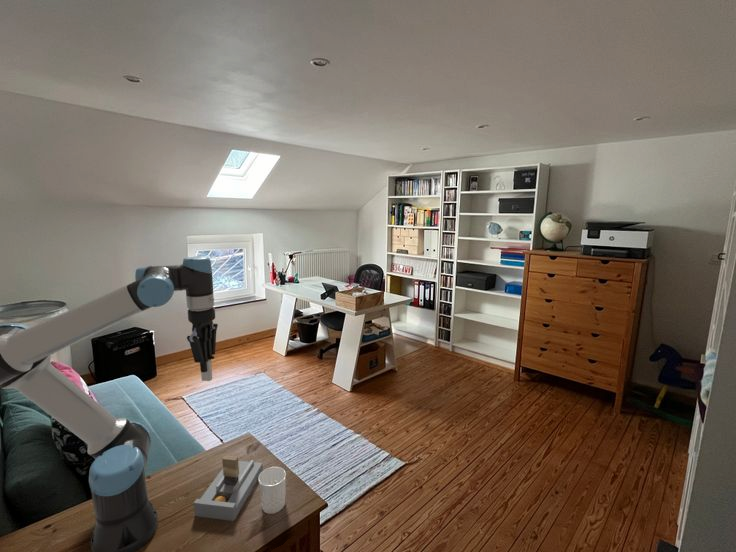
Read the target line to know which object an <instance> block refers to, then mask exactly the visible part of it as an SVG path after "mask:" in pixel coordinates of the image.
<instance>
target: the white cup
mask: <svg viewBox="0 0 736 552" xmlns="http://www.w3.org/2000/svg"><path fill="white" fill-rule="evenodd" d="M286 480H287V473H286V470H285V469H284V468H282V467H280V466H270V467H267V468H265V469H263V471H262V472H261V473H260V475H259V477H258V480H257V482H258V488H259V489H258V490H259V496H260V497H259V498H260V503H261V509H262V511H263V512H264V513H266V514H267V515H268V514H269V515H270V514H271V515H272V514H276V513H279V512H280V511H281V510H282V509H284V508H285V507H284V506H285V505H286V494H287V493H286V489H287V485H286V484H287V481H286Z"/></svg>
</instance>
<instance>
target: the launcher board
mask: <svg viewBox="0 0 736 552" xmlns="http://www.w3.org/2000/svg"><path fill="white" fill-rule="evenodd" d="M238 462H239V475H238V479H239V480H238V482H237V483H236V485H232V484H225V483H224V476H223V468H222V469H221V470H220V471H219V472H218V474H217V475H216V477H215V478H214V479H213V481H212V482H211V483H210V485H209V487H207V489H206V490H205V492H204V493H203V494H202V496H201V497H200V498H196V499H195V500H194V501H193V508H194V509H193V511H194V517H199V518H207V519H215V520H222V521H223V520H224V521H229V522H230V521H232V522H235V520H236V518H237V517H238V515H239V513H240V511H241V510H242V508H243V506H244V504H245V503H246V501H247V499H248V498H249V496H250V494H251V492H252V490H253V489H254V487H255V486H256V483H257V482H258V477H259V475H260V473H261V472H262V471H263V470H264V467H263V463H262V462H257V461H256V462H255V460H254V459H251V460H250V461H246V460H238ZM219 496H223V497H225V499H226V502H221V501H214V500H215V499H216V498H217V497H219Z"/></svg>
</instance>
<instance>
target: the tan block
mask: <svg viewBox="0 0 736 552" xmlns="http://www.w3.org/2000/svg"><path fill="white" fill-rule="evenodd" d="M221 460H222V469H223V476H224V483H225V484H232V485H236V483H237V482H238V480H239V479H238V475H239V462H238V461H239V456H236V455H235V456H234V455H224V456H223V457H222V459H221Z"/></svg>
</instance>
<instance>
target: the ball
mask: <svg viewBox="0 0 736 552" xmlns="http://www.w3.org/2000/svg"><path fill="white" fill-rule="evenodd" d="M214 501H221V502H226V499H225V497H223V496H219V497H217V498H216V499H215V500H214Z"/></svg>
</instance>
